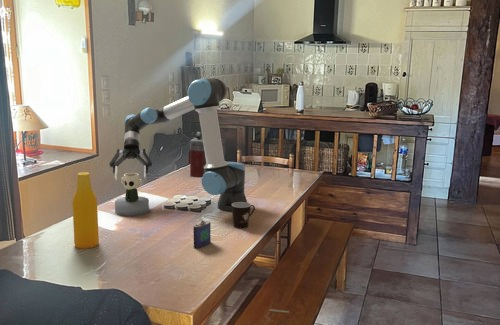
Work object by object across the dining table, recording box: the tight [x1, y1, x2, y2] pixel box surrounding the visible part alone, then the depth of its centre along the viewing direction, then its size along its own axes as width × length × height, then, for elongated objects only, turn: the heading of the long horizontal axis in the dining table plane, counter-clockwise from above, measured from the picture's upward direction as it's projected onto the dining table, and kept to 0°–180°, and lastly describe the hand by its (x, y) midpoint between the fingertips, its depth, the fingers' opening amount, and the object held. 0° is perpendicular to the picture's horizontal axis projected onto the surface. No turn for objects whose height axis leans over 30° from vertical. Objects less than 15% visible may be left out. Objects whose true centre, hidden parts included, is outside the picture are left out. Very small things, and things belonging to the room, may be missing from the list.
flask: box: [192, 219, 212, 249], centre depth 194 cm, size 9×3×11 cm, turn 144°
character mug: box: [120, 172, 143, 201], centre depth 233 cm, size 11×7×13 cm, turn 75°
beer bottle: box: [71, 171, 100, 250], centre depth 189 cm, size 9×9×29 cm
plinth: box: [114, 195, 150, 217], centre depth 235 cm, size 16×16×5 cm
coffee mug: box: [231, 202, 256, 229], centre depth 217 cm, size 12×9×10 cm
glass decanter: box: [188, 131, 206, 178], centre depth 306 cm, size 9×11×28 cm
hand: (130, 178), depth 233 cm, fingers open, 13 cm apart
